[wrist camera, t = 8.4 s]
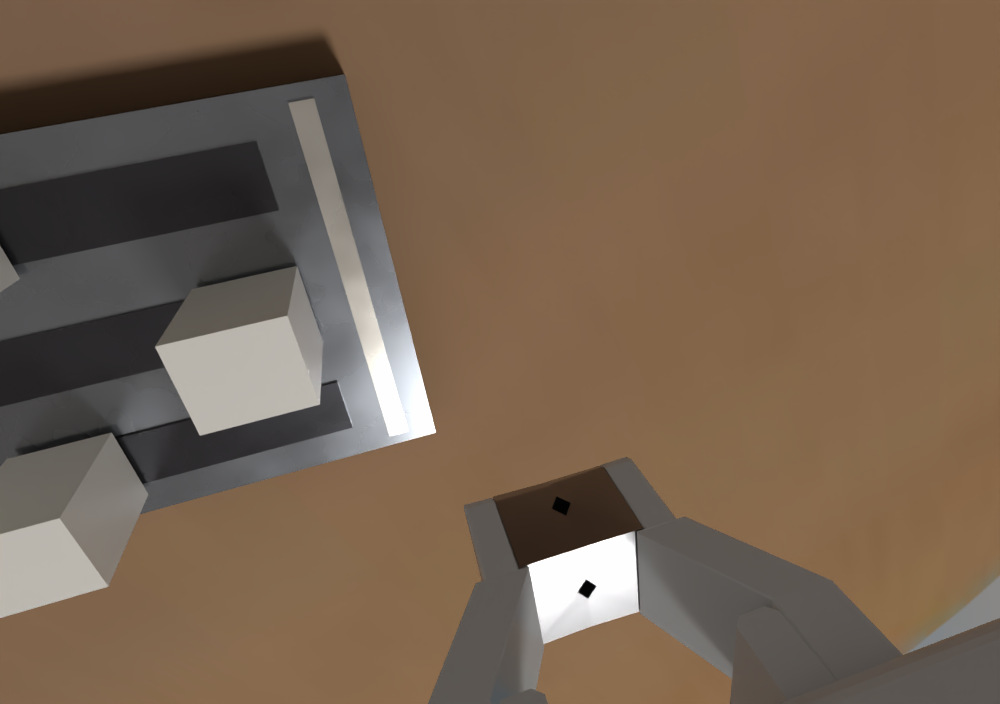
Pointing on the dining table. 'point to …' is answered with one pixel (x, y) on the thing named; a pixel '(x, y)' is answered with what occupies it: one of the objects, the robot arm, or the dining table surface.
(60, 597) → the breaker
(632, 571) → the robot arm
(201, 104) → the panel
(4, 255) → the block
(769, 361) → the dining table surface
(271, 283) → the block
